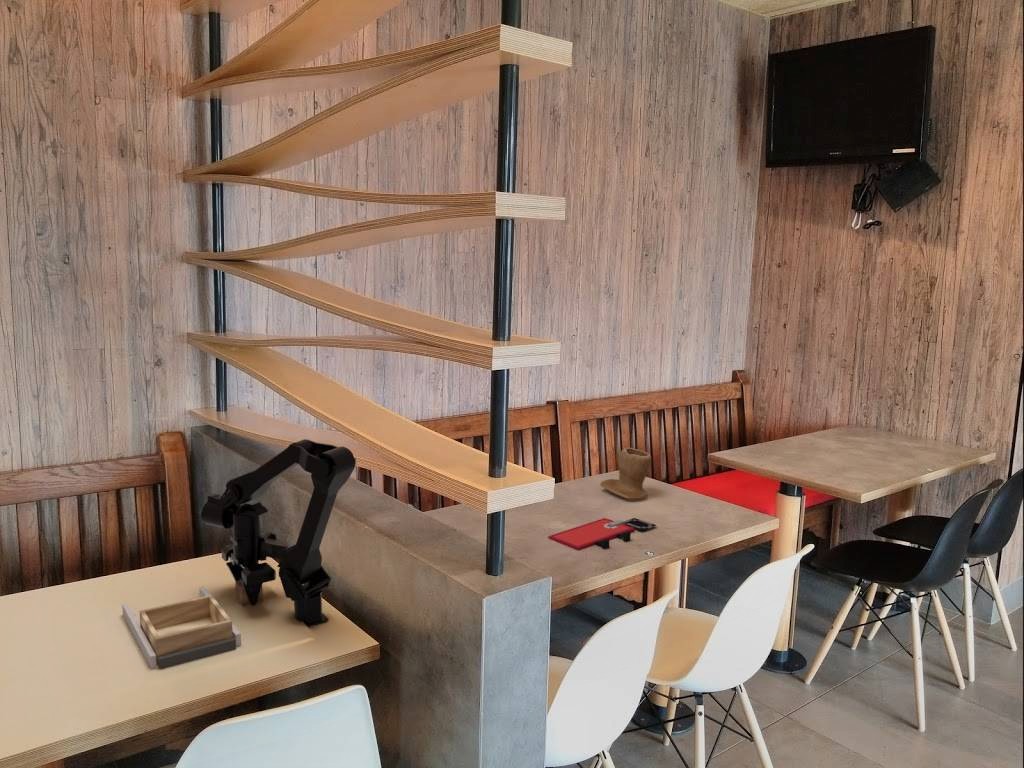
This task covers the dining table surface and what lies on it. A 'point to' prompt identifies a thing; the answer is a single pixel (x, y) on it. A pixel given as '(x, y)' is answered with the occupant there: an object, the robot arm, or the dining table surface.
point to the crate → (185, 625)
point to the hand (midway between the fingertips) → (249, 599)
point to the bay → (183, 655)
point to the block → (242, 596)
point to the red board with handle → (599, 533)
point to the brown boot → (630, 474)
